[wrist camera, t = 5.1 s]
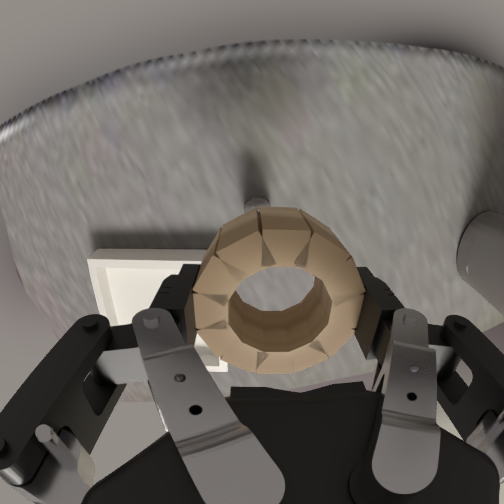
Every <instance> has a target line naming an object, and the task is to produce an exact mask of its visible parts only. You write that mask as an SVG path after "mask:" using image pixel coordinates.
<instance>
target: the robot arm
mask: <svg viewBox="0 0 504 504" xmlns="http://www.w3.org/2000/svg"><path fill="white" fill-rule="evenodd" d="M200 266H201V264H183V265H182V268H181V270H180V272H179V274H178V275H176V274H171V275H170V276H168V277H167V278H165V279H164V280H163V282H162V284H161V286H160V288H159V289H158V291H157V293H156V295H155V297H154V299H153V301H152V303H151V305H150V307H149V308H148V309H144V310H141V311H140V312H138V313H136V314H135V315H134V317H133V318H132V323H131V324H126V325H118V326H110V322H109V320H108V318H107V317H105V316H103V315H99V314H92V315H87V316H84V317H82V318H80V319H79V320H77V321H76V322H75V323H74V324H73V326H72V327H71V328H70V329H69V330H68V331H67V332H66V333H65V334H64V336H63V337H62V338H61V339H60V340H59V341H58V342H57V343H56V345H55V346H54V347H53V348H52V349H51V350H50V352H49V353H48V354H47V355H46V356H45V357H44V359H43V360H42V361H41V362H40V363H39V365H38V366H37V367H36V368H35V369H34V371H33V372H32V373H31V374H30V375H29V377H28V378H27V379H26V380H25V382H24V383H23V384H22V385H21V387H20V388H19V389H18V390H17V392H16V393H15V394H14V396H13V397H12V398H11V399H10V401H9V402H8V403H7V405H6V406H5V407H4V409H3V410H2V412H1V413H0V476H1V477H2V479H3V480H4V481H5V482H6V483H7V484H8V485H10V486H11V487H12V488H13V489H15V490H16V491H17V492H19V493H20V494H21V495H23V496H24V497H25V498H27V499H28V500H30V501H32V502H34V503H35V504H499V490H500V484H501V483H503V482H504V354H503V353H502V352H501V351H500V350H499V349H498V348H497V347H496V346H495V345H494V344H493V343H492V342H491V341H490V340H489V339H488V338H487V337H486V336H485V335H484V334H482V332H481V331H480V330H479V329H478V328H477V327H476V326H474V325H473V324H472V323H471V322H470V321H469V320H468V319H466V318H464V317H462V316H458V315H449V316H447V317H446V319H445V321H444V324H443V326H440V325H432V324H428V322H427V319H426V317H425V316H424V315H423V314H422V313H420V312H418V311H416V310H413V309H409V308H404V306H403V305H402V304H401V302H400V301H399V300H398V298H397V297H396V296H394V293H393V292H392V291H391V290H390V288H389V287H388V286H387V284H386V283H385V282H383V281H382V280H380V279H378V278H375V277H374V276H373V274H372V273H371V272H370V270H369V269H368V268H367V267H357V270H358V272H359V275H360V278H361V280H362V283H363V285H364V288H365V292H364V299H363V303H362V307H361V311H360V315H359V319H358V323H357V327H356V328H354V329H355V333H354V334H355V336H356V338H357V341H358V343H359V345H360V347H361V349H362V352H363V354H364V356H365V358H366V360H369V359H377V360H378V362H377V364H376V367H375V371H374V375H373V379H372V383H371V388H370V391H368V390H366V388H365V386H364V383H363V382H362V381H361V382H352V383H342V384H332V385H329V386H325V387H321V388H318V389H314V390H310V391H307V392H302V393H298V392H291V391H285V390H279V389H273V388H267V387H231V394H230V396H229V397H224V396H223V395H222V393H221V392H220V390H219V388H218V387H217V385H216V384H215V382H214V380H213V379H212V377H211V375H210V374H209V372H208V370H207V368H206V367H205V365H204V363H203V362H202V360H201V358H200V356H199V355H198V353H197V351H196V349H195V348H194V345H195V340H196V336H197V332H196V331H197V328H196V322H195V311H194V299H193V292H194V291H193V287H194V284H195V281H196V278H197V275H198V272H199V269H200ZM457 266H458V271H459V274H460V276H461V277H462V278H463V280H465V281H466V282H467V283H468V284H469V285H470V286H472V287H473V288H474V289H475V290H476V291H477V292H478V293H480V294H481V295H482V296H483V297H484V298H485V299H486V300H487V301H488V302H489V303H490V304H492V305H493V306H494V307H495V308H496V309H497V310H498V311H499V312H500V313H501V314H502V315H503V316H504V216H502V215H500V214H498V213H496V212H493V211H486V212H483V213H481V214H479V215H478V216H477V217H476V218H474V219H473V221H472V222H471V223H470V224H469V226H468V227H467V229H466V230H465V232H464V234H463V237H462V239H461V242H460V245H459V249H458V254H457ZM461 359H462V360H463V361H464V362H465V363H466V365H467V366H468V367H469V368H470V369H471V371H472V374H473V379H472V382H471V384H470V386H469V387H468V386H467V384H466V383H465V382H464V381H463V379H462V378H461V377H460V376H459V374H458V373H457V372H456V371H455V370H456V367H457V366H458V364H459V362H460V360H461ZM89 372H90V373H89ZM88 373H89V375H88ZM87 375H88V376H87ZM86 376H87V378H86ZM85 378H86V379H85ZM84 379H85V381H84ZM141 381H147V382H148V385H149V388H150V390H151V393H152V396H153V399H154V402H155V404H156V407H157V410H158V412H159V415H160V418H161V420H162V423H163V426H164V428H165V431H166V433H165V434H164V435H163V436H162V437H160V438H159V439H158V440H156V441H155V442H154V443H152V444H151V445H150V446H148V447H147V448H146V449H144V450H143V451H142V452H140V453H139V454H137V455H136V456H135V457H133V458H132V459H131V460H129V461H128V462H126V463H125V464H124V465H122V466H121V467H119V468H118V469H116V470H115V471H113V472H112V473H110V474H109V475H108V476H106V477H105V478H103V479H102V480H100V481H99V482H97V483H96V484H95V485H93V477H94V473H95V464H94V461H93V459H92V458H91V457H90V454H91V452H92V450H93V448H94V446H95V444H96V442H97V440H98V438H99V436H100V434H101V432H102V430H103V428H104V426H105V424H106V422H107V420H108V418H109V417H110V415H111V413H112V411H113V409H114V407H115V405H116V403H117V401H118V400H119V398H120V396H121V394H122V392H123V390H124V388H125V387H126V384H127V383H133V382H141ZM437 401H438V402H439V404H440V405H441V406H442V408H443V409H444V411H445V412H446V414H447V415H448V417H449V419H450V420H451V422H452V423H453V424H454V426H455V428H456V429H457V430H458V432H459V434H460V435H461V437H462V438H463V440H464V441H463V440H461V439H459V438H457V437H456V436H454V435H453V434H451V433H449V432H448V431H446V430H444V429H443V428H441V427H439V426H438V425H437V424H436V409H437V408H436V407H437Z"/></svg>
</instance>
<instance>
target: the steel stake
mask: <svg viewBox="0 0 504 504" xmlns="http://www.w3.org/2000/svg"><path fill="white" fill-rule="evenodd" d="M259 207H270V204H269V202H268V201H267V200H266V199H264V198H262V197H254V198H251V199H250V200H249V201H248V202H247V203H246V205H245V213H246V212H248V211H250V210H252V209H254V208H257V210H258V212H259Z"/></svg>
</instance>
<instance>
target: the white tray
mask: <svg viewBox="0 0 504 504" xmlns="http://www.w3.org/2000/svg"><path fill="white" fill-rule="evenodd" d="M206 251H207V250H199V249H97V250H96V251H95V252H94V253H93V254H92V255H91V256H90V257H89V258H88V259H87V261H88V266H89V271H90V276H91V280H92V285H93V289H94V293H95V297H96V301H97V305H98V309H99V312H100V315H103V316H105V317H107V318H108V320H109V322H110V326H118V325H126V324H131V323H132V318H133V317H134V315H135V314H136V313H138V312H140V311H141V310H144V309H148V308H149V307H150V305H151V303H152V301H153V299H154V297H155V295H156V293H157V291H158V289H159V288H160V286H161V284H162V282H163V280H164V279H165V278H167V277H168V276H170V275H171V274H176V275H178V274H179V272H180V270H181V268H182V265H183V264H201V262H202V259H203V257H204V255H205V253H206ZM194 348H195V349H196V351H197V353H198V355H199V356H200V358H201V360H202V362H203V363H204V365H205V367H206V368H207V370H208V371H213V372H228V363H227V362H224V361H222V360H220V357H218V358H217V357H216V355H215V354H214V353H213V352H212V351H211V349H210V348H209V347H208V346H207V344H206V343H205V342H204V341H203V340H202V338H201V337H200V336H199V335H198V333H197V336H196V340H195V345H194Z"/></svg>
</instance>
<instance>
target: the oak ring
mask: <svg viewBox="0 0 504 504" xmlns="http://www.w3.org/2000/svg"><path fill="white" fill-rule="evenodd" d="M267 267H300V268H302V269H303V270H305V271H307V272H309V273H310V274H312V275H314V276H315V280H314V287H313V288H312V289H311V290H310V292H309V293H308V294H307V295H306V297H305V298H304V299H303V301H302V302H301V303H298V304H296V305H294V306H292V307H290V308H288V309H286V310H283V311H260V310H258V309H256V308H254V307H252V306H250V305H249V304H247V303H245V302H243V301H242V299H241V298H240V296H239V295H238V293H237V292H236V289H237V287H238V286H239V284H240V283H241V281H242V280H243V279H245V278H247V277H249V276H251V275H253V274H255V273H257V272H259V271H261V270H263V269H265V268H267ZM193 291H194V292H193V299H194V311H195V322H196V328H197V331H196V332H197V333H198V335H199V336H200V337H201V338H202V340H203V341H204V342H205V343H206V344H207V346H208V347H209V348H210V349H211V351H212V352H213V353H214V354H215V355H216V357H217V358H218V357H220V360H222V361H224V362H227V363H229V364H231V365H234V366H236V367H239V368H241V369H243V370H246V371H248V372H251V373H253V372H254V371H255V370H256V374H291V373H292V372H293V370H294V371H295V373H296V372H299V371H301V370H304V369H306V368H309V367H311V366H313V365H316V364H318V363H320V362H323V361H325V360H327V359H329V357H328V355H329V356H331V357H332V356H333V355H334V354H335V353H336V352H337V351H338V350H339V349H340V348H341V347H342V346H343V345H344V343H345V342H346V341H347V340H348V339H349V338H350V337H351V336H352V335H353V334H354V333H355V329H354V328H356V327H357V323H358V319H359V315H360V311H361V307H362V303H363V299H364V292H365V288H364V285H363V283H362V280H361V278H360V275H359V272H358V270H357V267H356V265H355V262H354V260H353V258H352V256H351V255H350V254H349V252H348V251H347V250H346V248H345V247H344V246H343V245H342V243H341V242H340V241H339V239H338V238H337V237H336V236H335V234H334V233H333V232H332V231H331V229H330V228H329V227H327V226H326V225H324V224H323V223H321V222H320V221H318V220H317V219H315V218H314V217H312V216H310V215H309V214H307V213H306V212H304V211H303V210H301V209H300V210H299V211H298V209H297V208H288V207H259V212H258V210H257V208H254V209H252V210H250V211H248V212H246V213H244V214H243V215H241V216H239V217H237V218H235V219H233V220H231V221H229V222H228V223H226V224H224V225H223V228H222V227H221V228H220V229H219V231H218V233H217V234H216V236H215V238H214V239H213V241H212V243H211V244H210V246H209V248H208V250H207V251H206V253H205V255H204V257H203V259H202V262H201V266H200V269H199V272H198V275H197V278H196V281H195V284H194V287H193Z"/></svg>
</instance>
